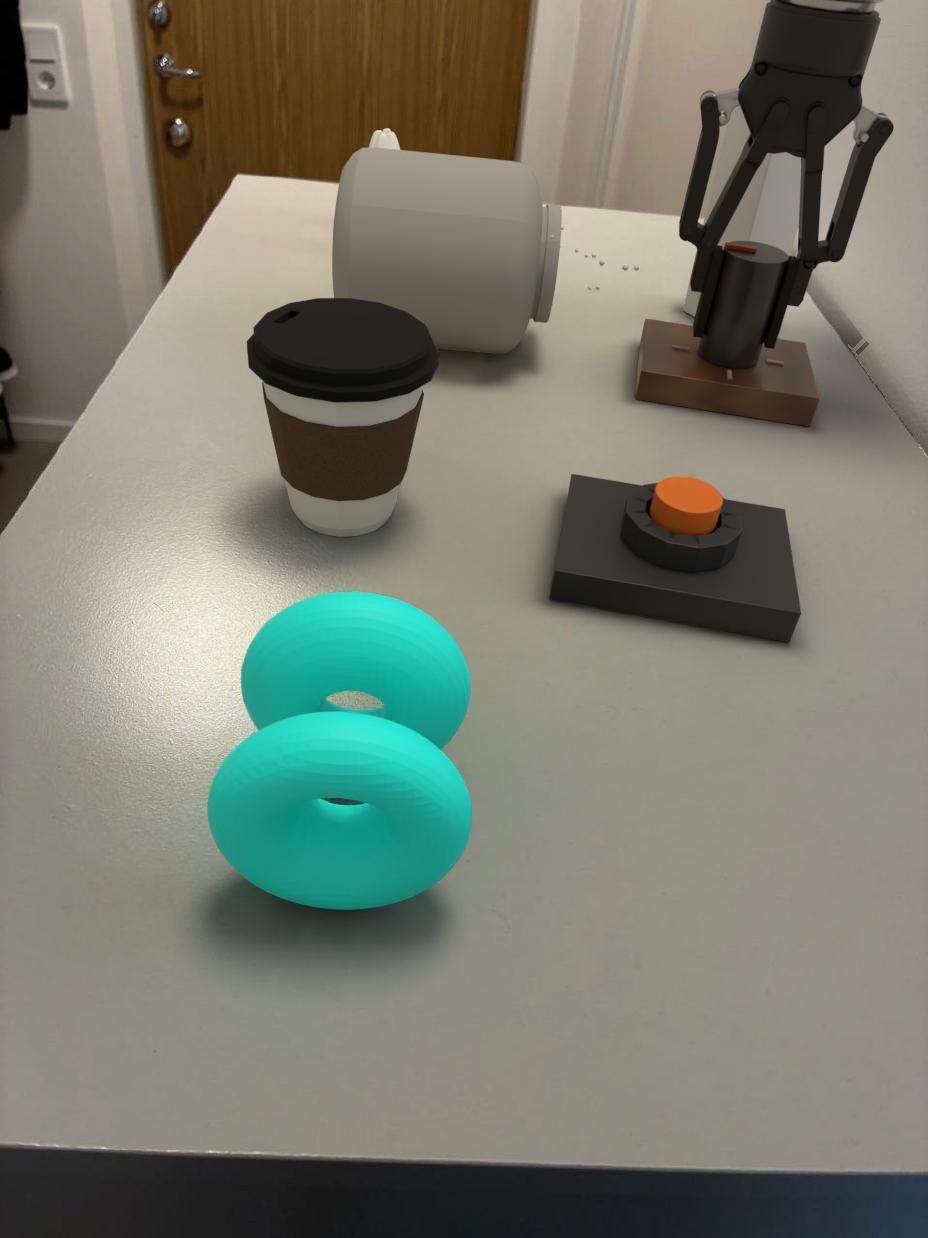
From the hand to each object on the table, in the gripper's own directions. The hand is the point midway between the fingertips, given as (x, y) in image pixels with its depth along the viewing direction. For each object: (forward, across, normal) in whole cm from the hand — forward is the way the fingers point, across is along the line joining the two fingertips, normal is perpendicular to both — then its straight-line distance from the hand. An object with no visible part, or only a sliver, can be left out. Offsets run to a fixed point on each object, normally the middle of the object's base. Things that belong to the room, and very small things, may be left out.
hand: (732, 335), depth 78 cm
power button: (+1, -4, -28) cm, 28 cm away
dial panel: (+4, 0, 0) cm, 4 cm away
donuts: (+4, -18, -52) cm, 55 cm away
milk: (+4, +1, +15) cm, 16 cm away
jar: (+4, -21, +2) cm, 22 cm away
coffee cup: (+4, -25, -28) cm, 38 cm away
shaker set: (+4, -35, +22) cm, 42 cm away
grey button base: (+4, -4, -28) cm, 29 cm away
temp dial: (+2, 0, 0) cm, 2 cm away
